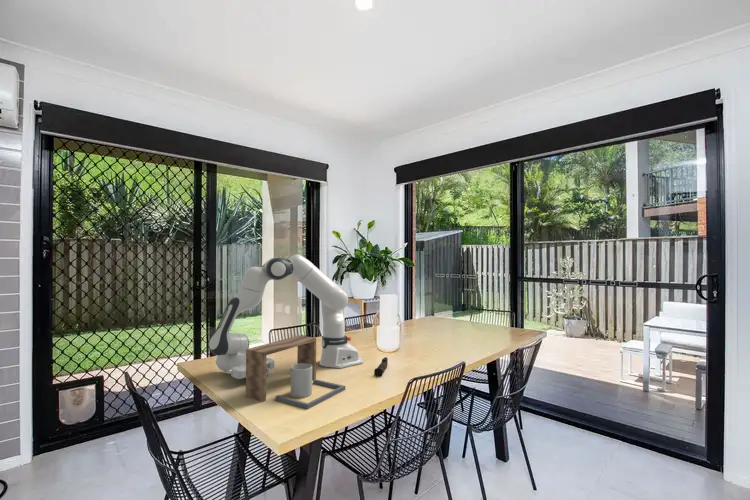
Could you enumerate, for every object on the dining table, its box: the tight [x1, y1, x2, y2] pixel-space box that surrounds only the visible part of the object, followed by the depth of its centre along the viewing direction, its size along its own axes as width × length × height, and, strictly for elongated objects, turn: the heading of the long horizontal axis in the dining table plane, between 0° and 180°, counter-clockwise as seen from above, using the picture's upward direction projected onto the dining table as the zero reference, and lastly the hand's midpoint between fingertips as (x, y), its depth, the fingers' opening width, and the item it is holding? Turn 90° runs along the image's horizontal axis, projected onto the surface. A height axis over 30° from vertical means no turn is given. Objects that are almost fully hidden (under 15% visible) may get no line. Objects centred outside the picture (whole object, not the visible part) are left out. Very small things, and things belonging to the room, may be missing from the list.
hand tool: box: [373, 356, 389, 377], centre depth 181 cm, size 19×4×5 cm, turn 164°
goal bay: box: [275, 378, 346, 410], centre depth 149 cm, size 16×23×2 cm
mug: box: [289, 363, 313, 399], centre depth 152 cm, size 12×8×11 cm
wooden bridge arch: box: [245, 335, 317, 403], centre depth 157 cm, size 10×30×18 cm, turn 149°
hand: (266, 371), depth 162 cm, fingers closed
